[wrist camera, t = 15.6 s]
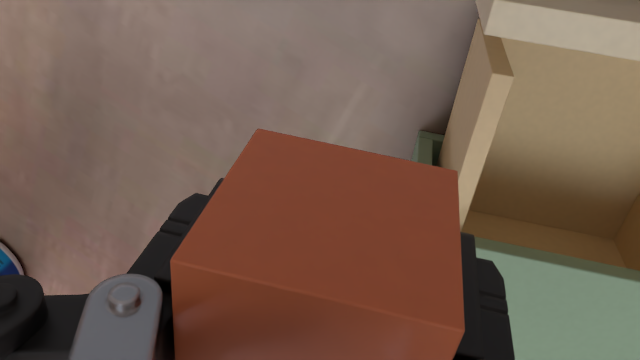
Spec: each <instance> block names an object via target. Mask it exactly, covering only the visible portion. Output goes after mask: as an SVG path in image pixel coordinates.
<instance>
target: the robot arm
mask: <svg viewBox="0 0 640 360" xmlns="http://www.w3.org/2000/svg"><path fill="white" fill-rule="evenodd" d="M223 180H224V178H221V179H220V180H219V181H218V182H217V184H216V185H215V187H214V188H213V190H212V191H211V193H210V194H209V196H207V195H202V194H198V193H195V194H193V195H192V196H190V197H188V198H187V199H185V200H183V201H182V202H180V203H179V204H178V205H177V206H176V208H175V209H174V210H173V212H172V213H171V214H170V216H169V217H168V220H166V221H165V223H164V224H163V225H162V227H161V228H160V231H159V232H157V233H156V235H155V236H154V237H153V239H152V240H151V241H150V243H149V244H148V245H147V247H146V248H145V249H144V251H143V252H142V253H141V255H140V256H139V257H138V259H137V260H136V262H135V263H134V264H133V266H132V267H131V268H130V270H129V271H128V272H127V274H122V275H117V276H114V277H111V278H109V279H106V280H104V281H103V282H101V283H100V284H98V285H97V286H96V287H95V288H94V289H93V290H92V291H91V292H90V294H82V295H48V296H44V293H43V289H42V287H41V285H40V284H39V282H38V281H36V280H35V279H33V278H31V277H29V276H25V275H18V274H10V275H2V276H0V360H175V350H174V330H173V309H172V289H171V268H170V260H171V258H172V257H173V255H174V254H175V252H176V251H177V249H178V248H179V246H180V245H181V243H182V241H183V240H184V238H185V237H186V235H187V234H188V232H189V231H190V229H191V228H192V226H193V225H194V223H195V222H196V220H197V219H198V217H199V216H200V214H201V213H202V211H203V210H204V208H205V207H206V205H207V204H208V202H209V201H210V199H211V198H212V196H213V195H214V193H215V192H216V190H217V189H218V187H219V186H220V184H221V183H222V181H223ZM460 235H461V257H462V279H463V301H464V324H465V332H464V335H463V337H462V339H461V341H460V344H459V346H458V348H457V351H456V353H455V355H454V358H453V360H515V355H514V348H513V341H512V334H511V327H510V320H509V315H508V305H507V300H506V291H505V284H504V278H503V277H502V275H501V274H500V272H499V270H498V269H497V267H496V266H495V264H494V263H493V261H490V260H486V259H482V258H477V257H476V247H475V237H474V235H473V234H469V233H464V232H460Z"/></svg>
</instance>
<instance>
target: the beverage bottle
mask: <svg viewBox="0 0 640 360" xmlns="http://www.w3.org/2000/svg"><path fill="white" fill-rule="evenodd" d="M10 274H18V275H24V273H23V270H22V267H21V265H20V263H19V261H18V260H17V258H16V257H15V256H14V254H13V253H12V252H11V251H10V250H9V249H8V248H7V247H6V246H5V245H4V244H2V243H1V242H0V276H2V275H10Z"/></svg>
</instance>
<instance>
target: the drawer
mask: <svg viewBox="0 0 640 360" xmlns="http://www.w3.org/2000/svg"><path fill="white" fill-rule="evenodd" d="M475 2H476V6H477V9H478V13H479V17H480V18H478V21H477V24H476V28H475V31H474V35H473V38H472V42H471V45H470V49H469V52H468V56H467V59H466V63H465V66H464V70H463V73H462V77H461V80H460V84H459V87H458V91H457V94H456V98H455V101H454V105H453V108H452V112H451V115H450V119H449V122H448V126H447V129H446V133H445V136H444V140H443V143H442V147H441V150H440V154H439V157H438V161H437V164H436V166H437V167H442V168H446V169H451V170H456V171H457V172H458V190H459V213H460V232H464V233H469V234H473V235H474V236H475V237H480V238H485V239H489V240H494V241H499V242H504V243H509V244H513V245H518V246H523V247H528V248H533V249H537V250H542V251H547V252H552V253H557V254H561V255H566V256H571V257H576V258H581V259H585V260H590V261H595V262H600V263H605V264H609V265H614V266H619V267H624V268H629V269H633V270H638V271H640V0H475Z"/></svg>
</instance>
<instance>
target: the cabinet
mask: <svg viewBox="0 0 640 360" xmlns="http://www.w3.org/2000/svg"><path fill="white" fill-rule="evenodd" d="M444 136H445V135H440V134H435V133H430V132H425V131H419V132H418V136H417V140H416V144H415V148H414V152H413V156H412V160H411V161H414V162H418V163H423V164H428V165H432V166H436V164H437V161H438V157H439V154H440V150H441V147H442V143H443V140H444ZM474 237H475V236H474ZM475 247H476V257H477V258H482V259H486V260H490V261H493V263H494V264H495V266H496V267H497V269H498V270H499V272H500V274H501V275H502V277H503V278H504V284H505V291H506V300H507V305H508V315H509V320H510V327H511V334H512V341H513V348H514V355H515V360H640V271H638V270H633V269H629V268H624V267H619V266H614V265H609V264H605V263H600V262H595V261H590V260H585V259H581V258H576V257H571V256H566V255H561V254H557V253H552V252H547V251H542V250H537V249H533V248H528V247H523V246H518V245H513V244H509V243H504V242H499V241H494V240H489V239H485V238H480V237H475Z"/></svg>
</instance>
